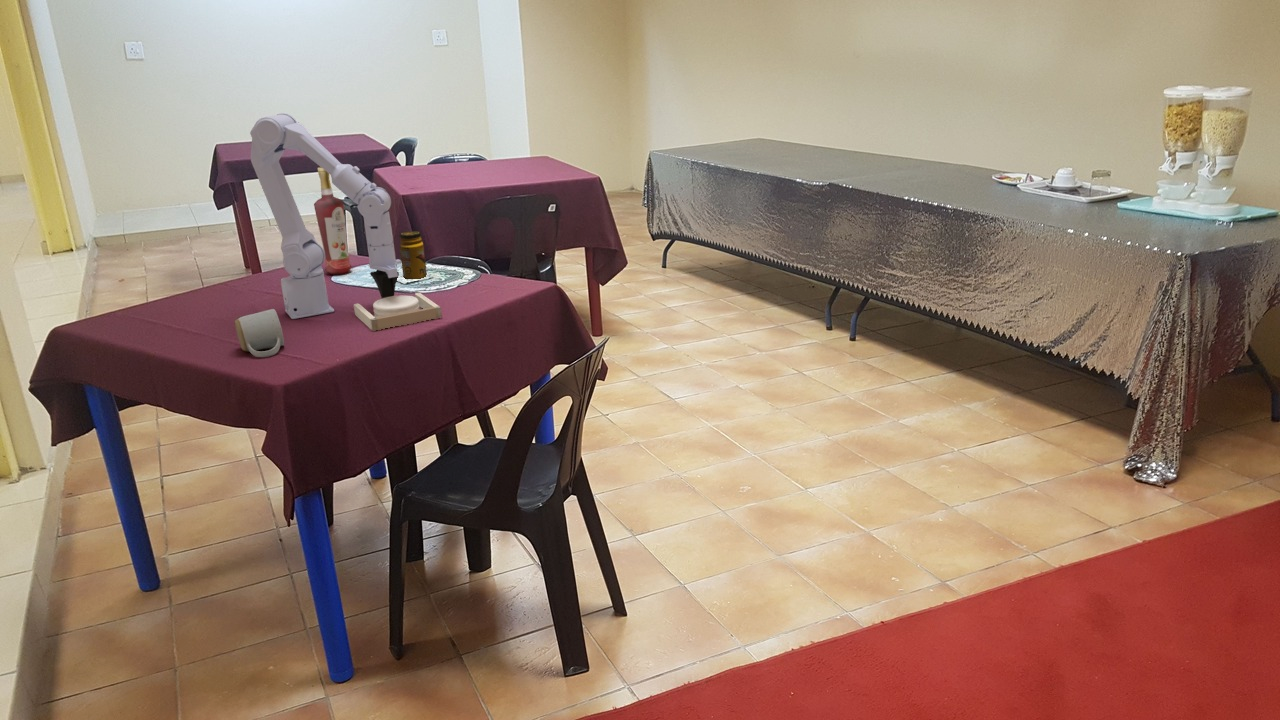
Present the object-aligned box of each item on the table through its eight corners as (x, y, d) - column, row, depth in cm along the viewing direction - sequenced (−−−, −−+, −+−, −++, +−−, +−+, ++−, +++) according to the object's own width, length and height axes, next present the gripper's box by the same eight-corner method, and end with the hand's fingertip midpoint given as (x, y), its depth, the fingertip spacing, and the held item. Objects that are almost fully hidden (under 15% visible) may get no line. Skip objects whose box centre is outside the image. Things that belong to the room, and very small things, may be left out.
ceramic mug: (238, 347, 186) (231, 311, 183) (279, 339, 189) (273, 304, 187) (247, 362, 177) (239, 325, 174) (290, 353, 181) (283, 317, 178)
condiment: (434, 278, 233) (428, 232, 229) (405, 285, 227) (398, 238, 223) (419, 273, 238) (413, 228, 234) (390, 280, 232) (384, 234, 228)
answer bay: (373, 331, 192) (371, 320, 191) (355, 314, 204) (353, 304, 203) (442, 318, 199) (440, 307, 199) (420, 302, 211) (419, 292, 210)
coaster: (367, 322, 198) (365, 307, 197) (384, 309, 208) (382, 294, 206) (410, 322, 197) (408, 307, 196) (426, 309, 206) (424, 294, 205)
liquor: (338, 277, 236) (321, 170, 227) (319, 274, 240) (301, 168, 230) (359, 271, 242) (343, 166, 232) (340, 268, 246) (324, 164, 236)
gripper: (407, 246, 198) (415, 305, 203) (388, 235, 209) (396, 291, 214) (375, 251, 194) (384, 311, 199) (358, 240, 206) (366, 296, 211)
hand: (388, 301), depth 206 cm, fingers closed
